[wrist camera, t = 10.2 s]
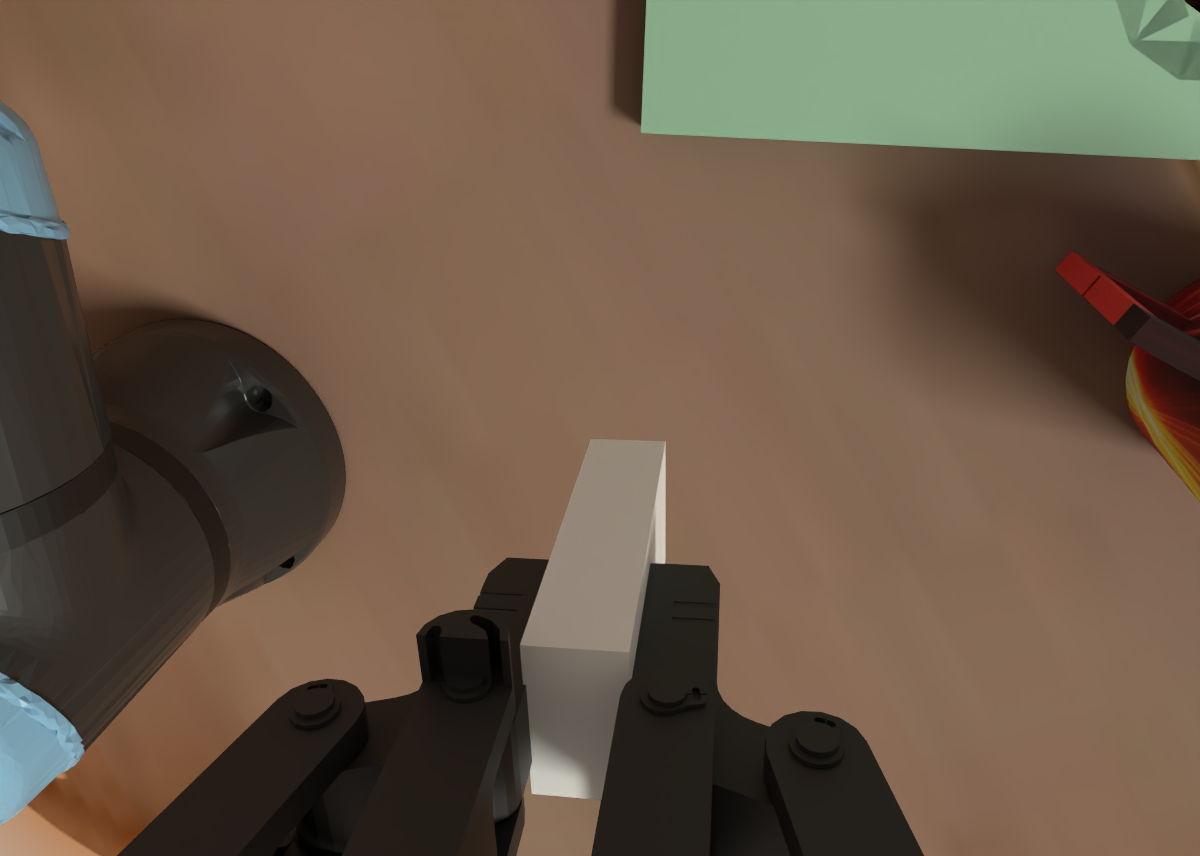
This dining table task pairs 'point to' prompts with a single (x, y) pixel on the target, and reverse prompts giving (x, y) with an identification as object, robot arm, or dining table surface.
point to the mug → (1154, 360)
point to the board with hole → (930, 73)
